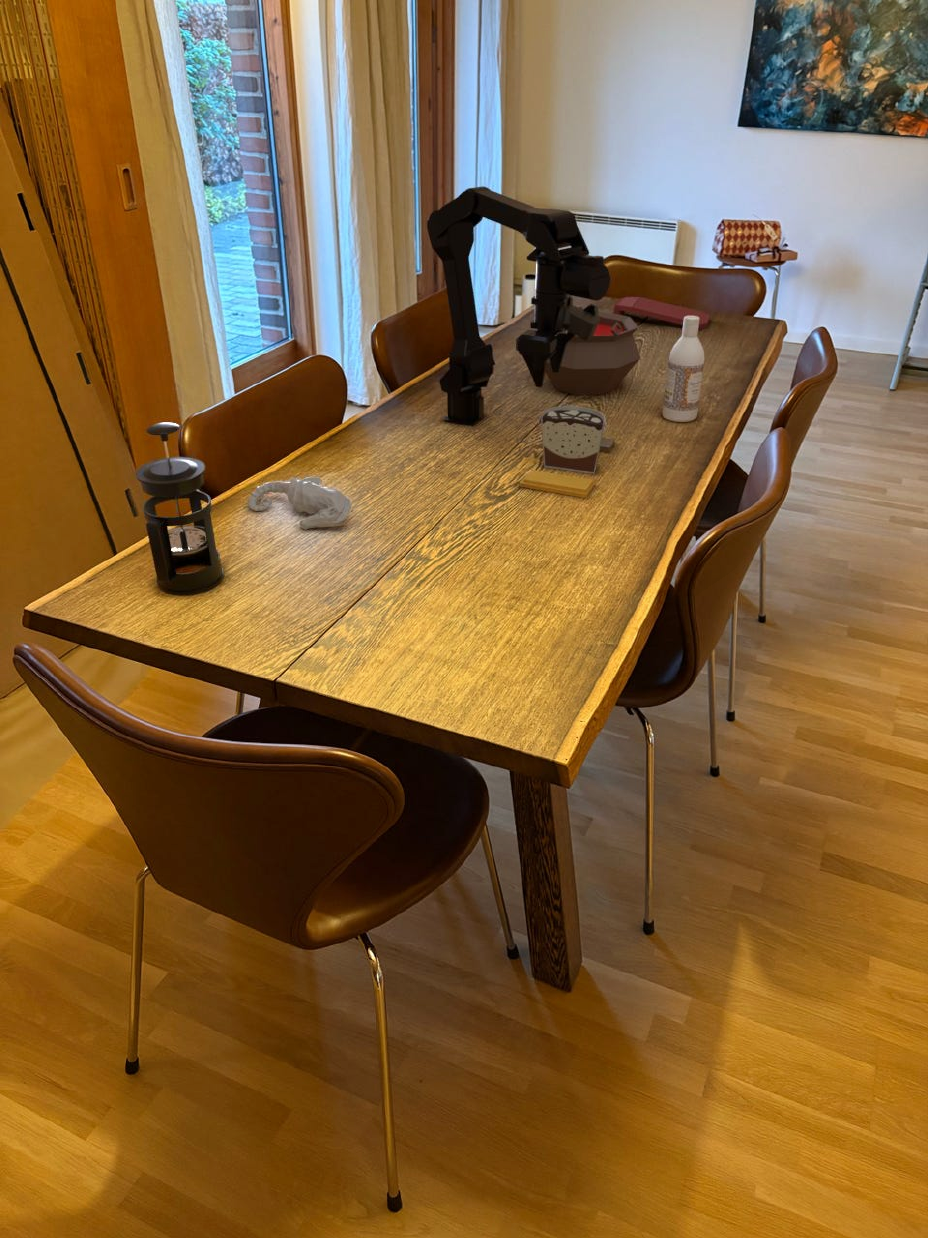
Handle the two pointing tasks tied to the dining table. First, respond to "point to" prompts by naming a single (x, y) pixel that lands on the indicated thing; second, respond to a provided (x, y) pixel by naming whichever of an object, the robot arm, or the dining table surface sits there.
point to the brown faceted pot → (598, 358)
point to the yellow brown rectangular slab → (557, 483)
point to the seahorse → (307, 501)
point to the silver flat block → (607, 444)
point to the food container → (572, 438)
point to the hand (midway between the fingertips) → (547, 379)
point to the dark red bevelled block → (658, 310)
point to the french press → (179, 522)
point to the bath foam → (684, 375)
